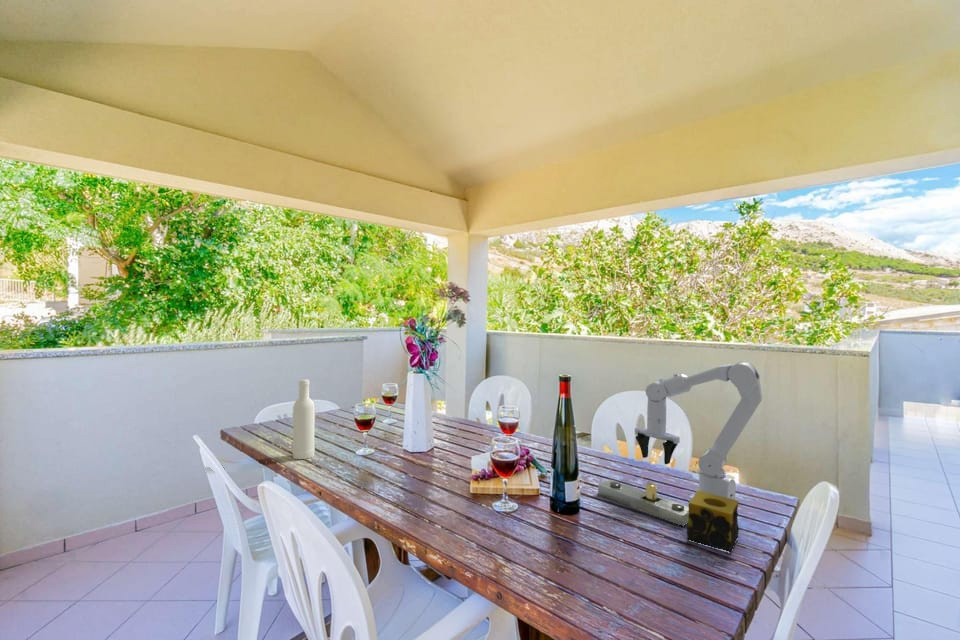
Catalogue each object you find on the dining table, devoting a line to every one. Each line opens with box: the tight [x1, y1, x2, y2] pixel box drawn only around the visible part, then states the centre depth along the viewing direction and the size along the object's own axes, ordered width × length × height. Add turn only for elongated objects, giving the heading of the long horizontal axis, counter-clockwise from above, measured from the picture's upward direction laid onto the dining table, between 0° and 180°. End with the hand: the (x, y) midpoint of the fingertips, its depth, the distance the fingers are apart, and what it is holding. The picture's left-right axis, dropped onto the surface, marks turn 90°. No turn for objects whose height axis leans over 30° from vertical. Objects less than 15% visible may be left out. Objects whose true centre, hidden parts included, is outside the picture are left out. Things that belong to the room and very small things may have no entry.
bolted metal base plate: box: [597, 479, 689, 527], centre depth 130 cm, size 27×7×4 cm, turn 39°
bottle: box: [292, 379, 316, 460], centre depth 170 cm, size 8×8×30 cm
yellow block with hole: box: [686, 490, 740, 552], centre depth 111 cm, size 10×10×10 cm
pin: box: [645, 482, 658, 503], centre depth 128 cm, size 3×3×7 cm
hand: (655, 460), depth 143 cm, fingers open, 7 cm apart
